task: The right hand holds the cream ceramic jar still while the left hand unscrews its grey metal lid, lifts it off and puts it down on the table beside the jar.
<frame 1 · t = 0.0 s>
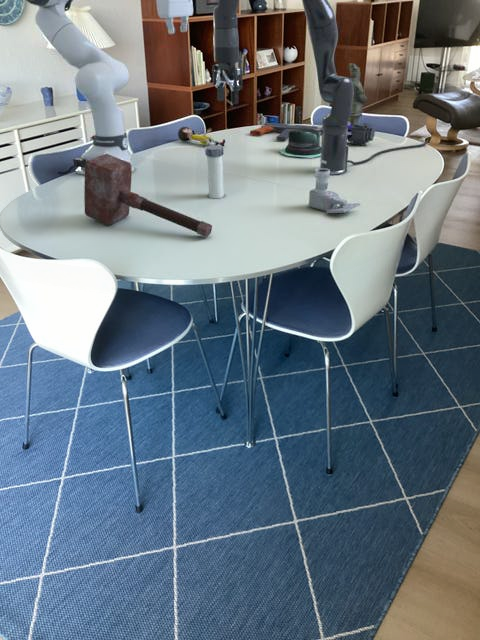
left hand: (177, 32, 183), 48 cm above the table, tool pointing down, fingers open, 8 cm apart
right hand: (227, 102, 175), 29 cm above the table, tool pointing down, fingers open, 8 cm apart
figurine: (200, 144, 252), on the table
grey foot-shaped piece: (331, 210, 172), on the table
statue: (353, 131, 270), on the table
toy: (355, 144, 247), on the table
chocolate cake: (303, 152, 236), on the table
lid: (214, 148, 179), point 16 cm above the table, screwed on, not yet turned
jar: (216, 195, 187), on the table
submachine gun: (285, 135, 264), on the table
sledgehammer: (150, 227, 163), on the table
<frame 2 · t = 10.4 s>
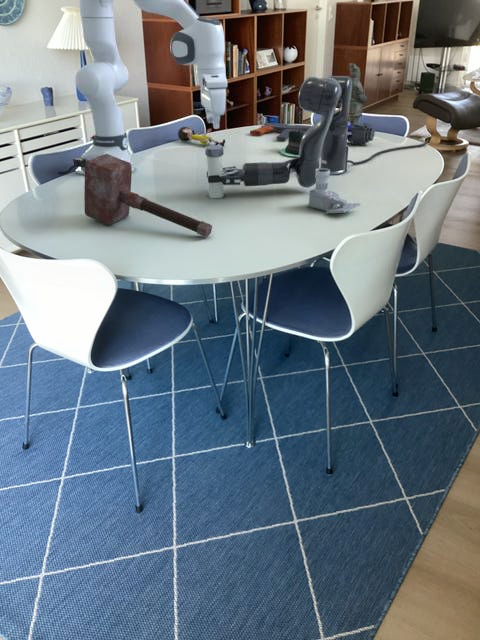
left hand: (213, 125, 176), 23 cm above the table, tool pointing down, fingers open, 8 cm apart
right hand: (207, 177, 183), 7 cm above the table, tool horizontal, fingers closed on jar, 5 cm apart
jar: (216, 195, 187), on the table, touching right hand
everything else where it was.
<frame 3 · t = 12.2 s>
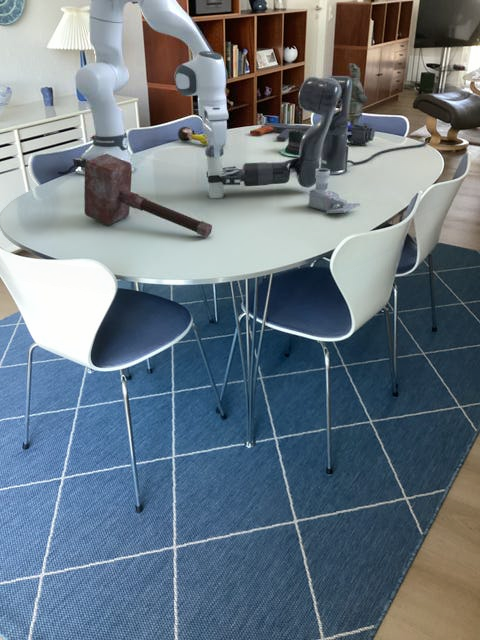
left hand: (214, 154, 180), 14 cm above the table, tool pointing down, fingers closed on lid, 5 cm apart
right hand: (207, 177, 183), 7 cm above the table, tool horizontal, fingers closed on jar, 5 cm apart
lid: (214, 148, 179), point 16 cm above the table, screwed on, not yet turned, touching left hand
jar: (216, 195, 187), on the table, touching right hand
everything else where it was.
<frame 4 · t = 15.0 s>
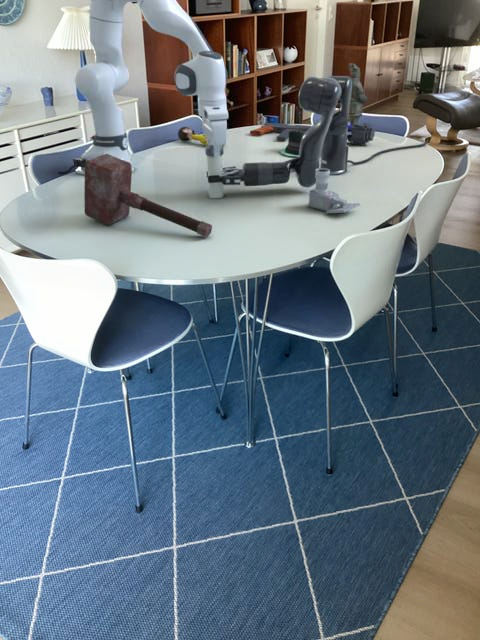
left hand: (214, 154, 180), 14 cm above the table, tool pointing down, fingers closed on lid, 5 cm apart
right hand: (207, 177, 183), 7 cm above the table, tool horizontal, fingers closed on jar, 5 cm apart
lid: (214, 148, 179), point 16 cm above the table, turned 64° so far, risen 0.1 cm, still on its thread, touching left hand
jar: (216, 195, 187), on the table, touching right hand
everything else where it was.
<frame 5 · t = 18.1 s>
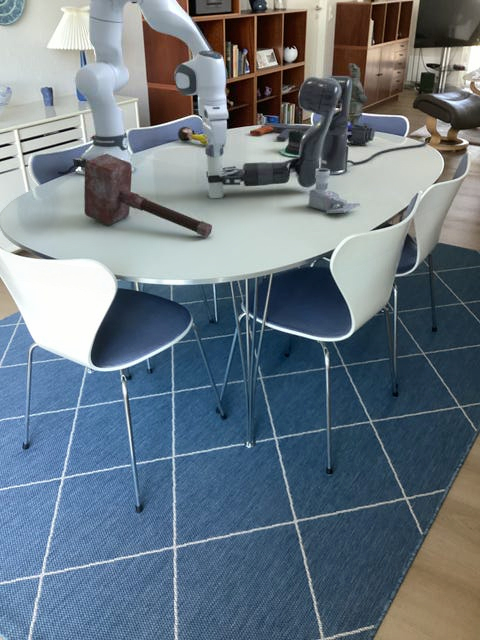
left hand: (214, 153, 180), 14 cm above the table, tool pointing down, fingers closed on lid, 5 cm apart
right hand: (207, 177, 184), 7 cm above the table, tool horizontal, fingers closed on jar, 5 cm apart
lid: (214, 147, 179), point 16 cm above the table, turned 129° so far, risen 0.2 cm, still on its thread, touching left hand
jar: (216, 195, 187), on the table, touching right hand
everything else where it was.
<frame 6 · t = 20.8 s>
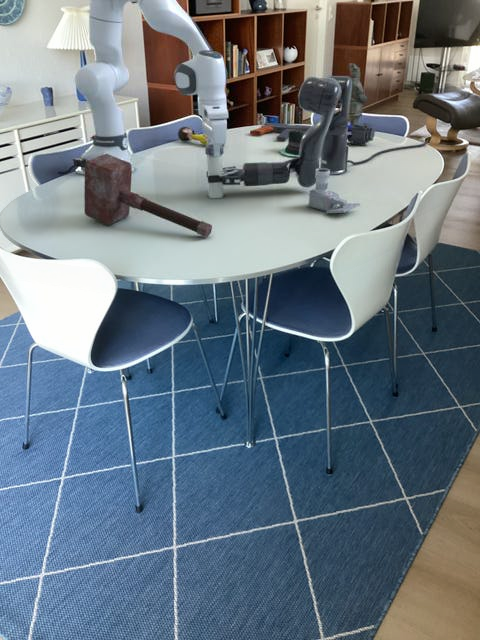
left hand: (214, 153, 180), 14 cm above the table, tool pointing down, fingers closed on lid, 5 cm apart
right hand: (207, 177, 184), 7 cm above the table, tool horizontal, fingers closed on jar, 5 cm apart
lid: (214, 147, 179), point 16 cm above the table, turned 193° so far, risen 0.3 cm, still on its thread, touching left hand
jar: (216, 195, 187), on the table, touching right hand
everything else where it was.
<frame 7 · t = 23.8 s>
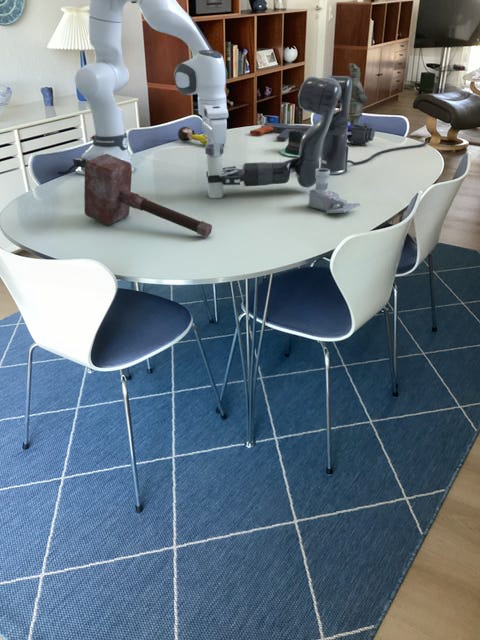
left hand: (214, 153, 180), 14 cm above the table, tool pointing down, fingers closed on lid, 5 cm apart
right hand: (207, 177, 184), 7 cm above the table, tool horizontal, fingers closed on jar, 5 cm apart
lid: (214, 147, 179), point 16 cm above the table, turned 258° so far, risen 0.4 cm, still on its thread, touching left hand
jar: (216, 195, 187), on the table, touching right hand
everything else where it was.
when the left hand's fingers open (2 cm above the table, at t = 31.9 s): lid drops 2 cm, point 2 cm above the table.
when the right hand's fingers open (7 cm above the table, at t = 32.9 s): jar stays where it is, on the table.
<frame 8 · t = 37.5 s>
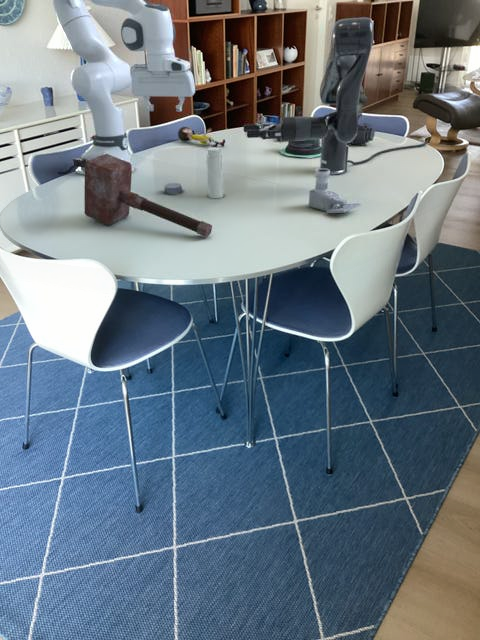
left hand: (165, 111, 178), 27 cm above the table, tool pointing down, fingers open, 8 cm apart
right hand: (245, 131, 178), 21 cm above the table, tool horizontal, fingers open, 8 cm apart
lid: (173, 186, 191), point 2 cm above the table, off its thread
jar: (216, 195, 187), on the table
everything else where it was.
at the end: lid came off its thread; lid point 2.0 cm above the table; the left hand is holding nothing; the right hand is holding nothing; jar tilted 0°; jar moved 0.1 cm from its start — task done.
